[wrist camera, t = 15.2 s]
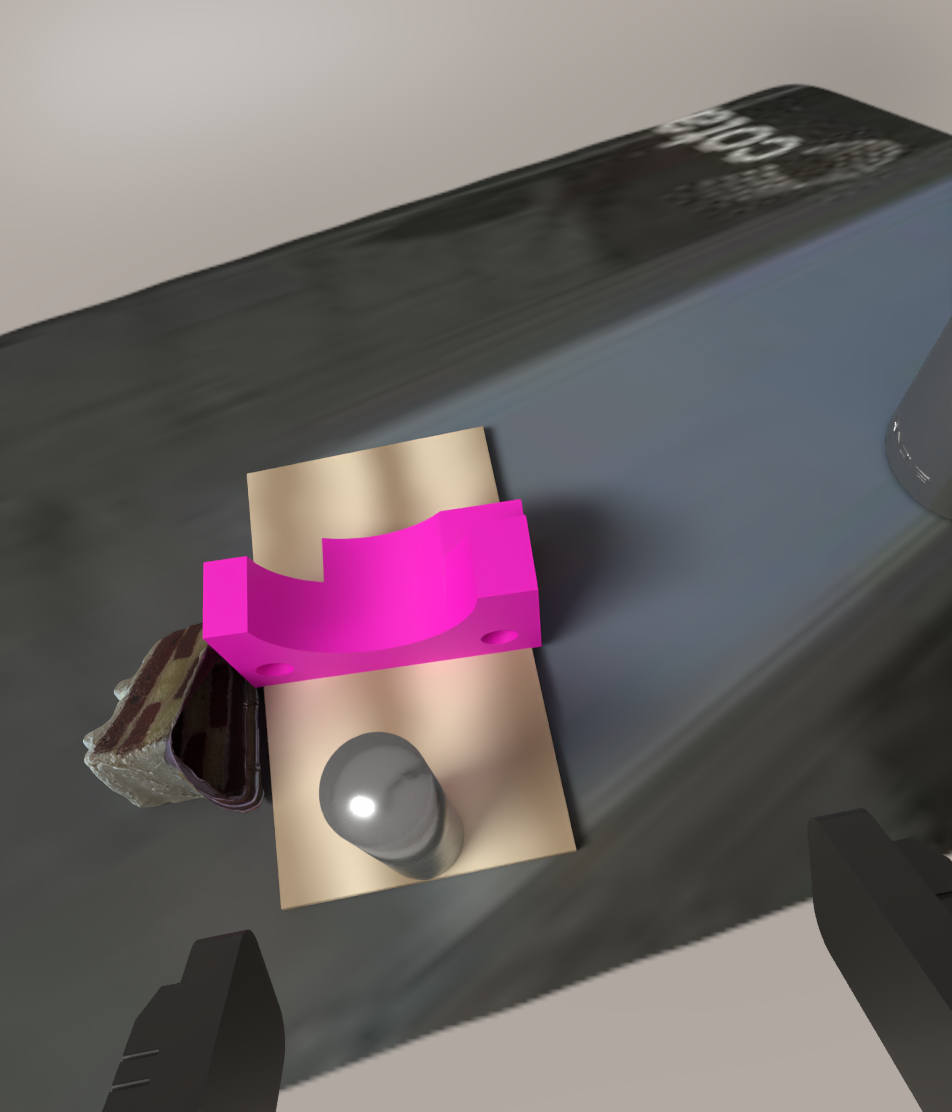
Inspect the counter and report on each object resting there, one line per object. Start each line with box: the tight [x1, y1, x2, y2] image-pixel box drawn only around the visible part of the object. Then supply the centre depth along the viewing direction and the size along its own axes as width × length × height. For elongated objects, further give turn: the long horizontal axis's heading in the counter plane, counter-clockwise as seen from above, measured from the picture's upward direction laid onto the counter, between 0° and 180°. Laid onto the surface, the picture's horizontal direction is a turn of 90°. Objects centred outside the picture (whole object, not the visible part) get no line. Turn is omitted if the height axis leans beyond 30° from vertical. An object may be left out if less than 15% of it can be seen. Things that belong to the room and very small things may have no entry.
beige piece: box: [247, 426, 576, 910], centre depth 42 cm, size 14×24×13 cm, turn 10°
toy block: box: [203, 499, 542, 688], centre depth 44 cm, size 15×6×8 cm, turn 97°
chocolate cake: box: [83, 623, 264, 813], centre depth 45 cm, size 10×7×12 cm
